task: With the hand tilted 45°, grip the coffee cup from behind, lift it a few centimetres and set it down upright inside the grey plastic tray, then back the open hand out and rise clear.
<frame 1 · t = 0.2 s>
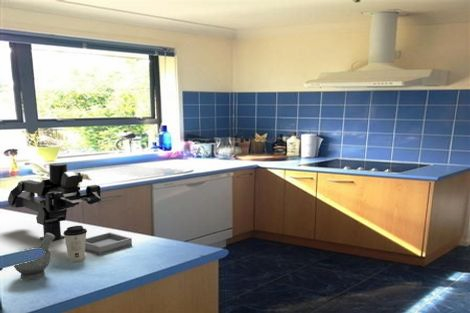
hand: (87, 202, 143), 17 cm above the counter, tool horizontal, fingers open, 9 cm apart
tray: (105, 246, 150), on the counter
coffee cup: (76, 259, 138), on the counter
mortar and pestle: (35, 277, 124), on the counter
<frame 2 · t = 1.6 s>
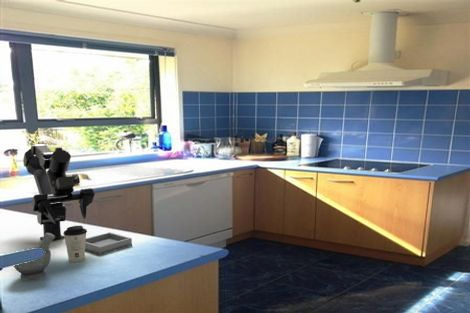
hand: (70, 220, 140), 11 cm above the counter, tool tilted 45°, fingers open, 9 cm apart
nothing on the counter moved.
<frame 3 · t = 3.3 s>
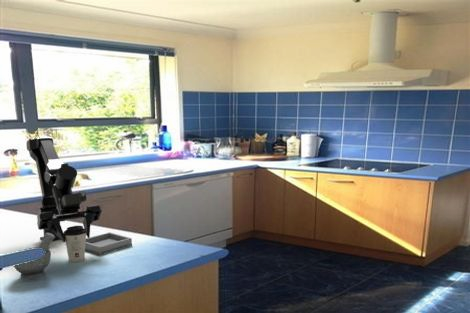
hand: (76, 239, 136), 7 cm above the counter, tool tilted 45°, fingers closed on coffee cup, 7 cm apart
coffee cup: (76, 259, 138), on the counter, touching gripper
everything else where it was.
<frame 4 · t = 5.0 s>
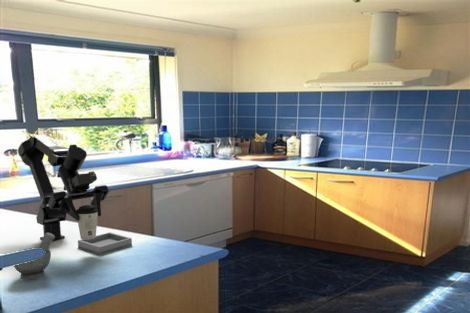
hand: (89, 217, 140), 12 cm above the counter, tool tilted 45°, fingers closed on coffee cup, 7 cm apart
coffee cup: (88, 238, 142), point 5 cm above the counter, touching gripper
everything else where it was.
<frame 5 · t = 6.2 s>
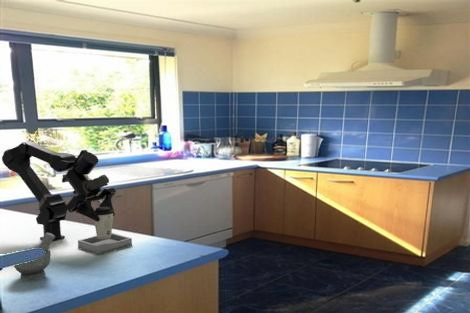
hand: (106, 218, 149), 10 cm above the counter, tool tilted 45°, fingers closed on coffee cup, 7 cm apart
coffee cup: (104, 237, 150), point 3 cm above the counter, touching gripper
everything else where it was.
when the fingers open (9 cm above the counter, at t = 7.0 s): coffee cup drops 1 cm, resting on tray.
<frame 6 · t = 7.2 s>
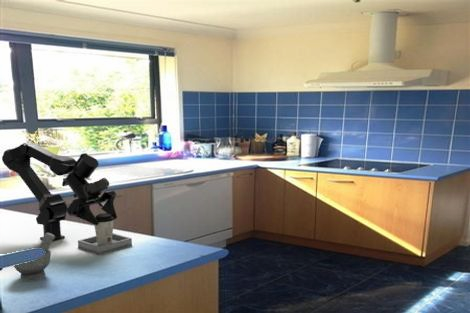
hand: (107, 221, 149), 9 cm above the counter, tool tilted 45°, fingers open, 9 cm apart
coffee cup: (104, 244, 150), point 1 cm above the counter, touching tray
everything else where it was.
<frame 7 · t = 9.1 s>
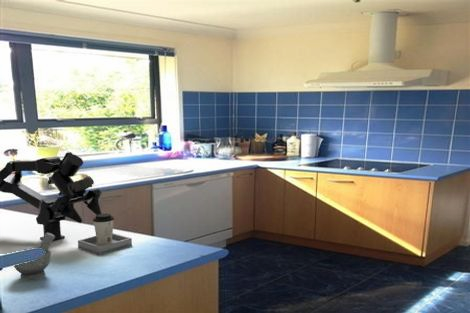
hand: (91, 219, 152), 9 cm above the counter, tool tilted 45°, fingers open, 9 cm apart
nothing on the counter moved.
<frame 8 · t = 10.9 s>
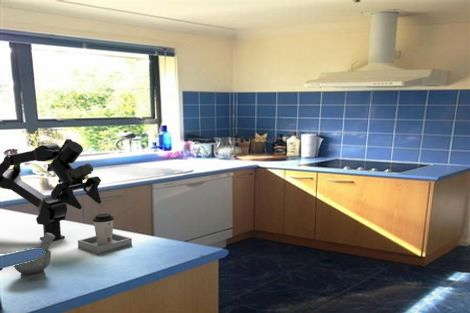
hand: (90, 205, 152), 14 cm above the counter, tool tilted 45°, fingers open, 9 cm apart
nothing on the counter moved.
at the end: coffee cup inside the target area on the tray (0.2 cm from its centre), point 0.6 cm above the tray's base; coffee cup tilted 0°; the gripper is holding nothing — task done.
